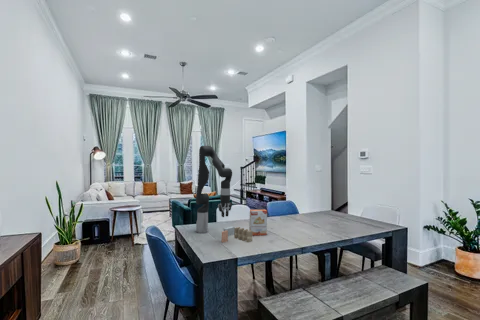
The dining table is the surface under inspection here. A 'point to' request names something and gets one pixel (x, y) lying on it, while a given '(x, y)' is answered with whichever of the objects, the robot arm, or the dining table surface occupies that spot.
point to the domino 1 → (224, 236)
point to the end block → (229, 230)
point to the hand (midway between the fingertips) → (225, 216)
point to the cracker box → (258, 222)
